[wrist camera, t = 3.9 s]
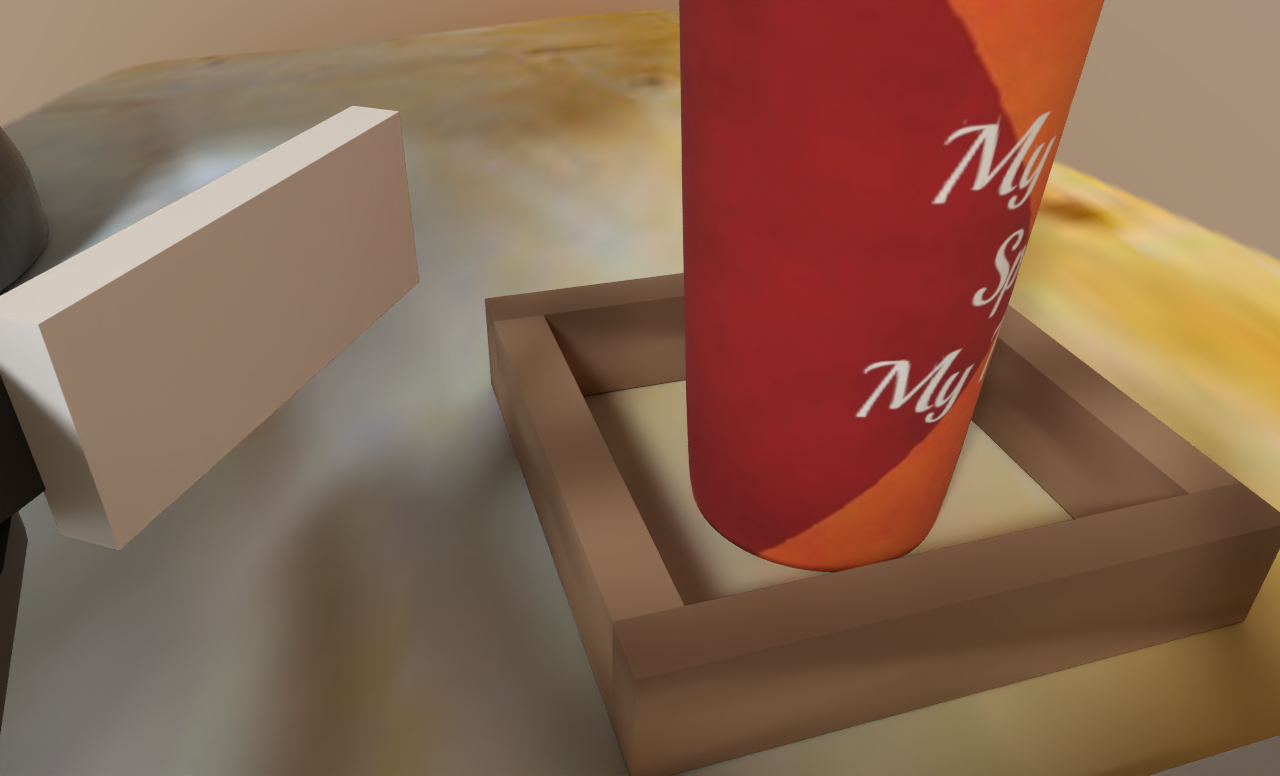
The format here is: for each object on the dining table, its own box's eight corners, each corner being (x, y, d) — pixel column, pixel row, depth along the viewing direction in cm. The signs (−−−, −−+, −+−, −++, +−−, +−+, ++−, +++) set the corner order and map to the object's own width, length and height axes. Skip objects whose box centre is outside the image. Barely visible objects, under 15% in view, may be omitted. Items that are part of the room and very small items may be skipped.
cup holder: (491, 383, 26) (484, 298, 25) (911, 320, 29) (926, 241, 28) (633, 785, 16) (635, 680, 15) (1243, 620, 19) (1292, 521, 18)
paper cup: (988, 650, 19) (1254, -236, 11) (597, 564, 20) (590, -251, 13) (988, 421, 25) (1156, -242, 17) (690, 370, 27) (722, -251, 19)
